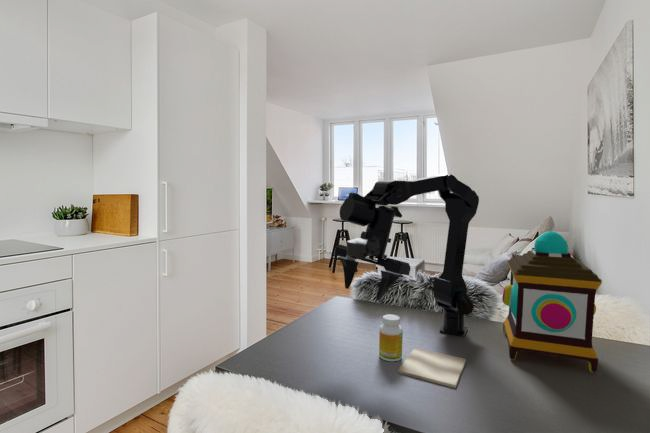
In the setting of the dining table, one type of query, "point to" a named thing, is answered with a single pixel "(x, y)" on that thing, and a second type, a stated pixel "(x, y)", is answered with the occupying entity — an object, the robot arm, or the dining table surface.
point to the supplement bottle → (390, 338)
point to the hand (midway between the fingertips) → (361, 294)
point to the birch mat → (433, 367)
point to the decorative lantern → (551, 302)
